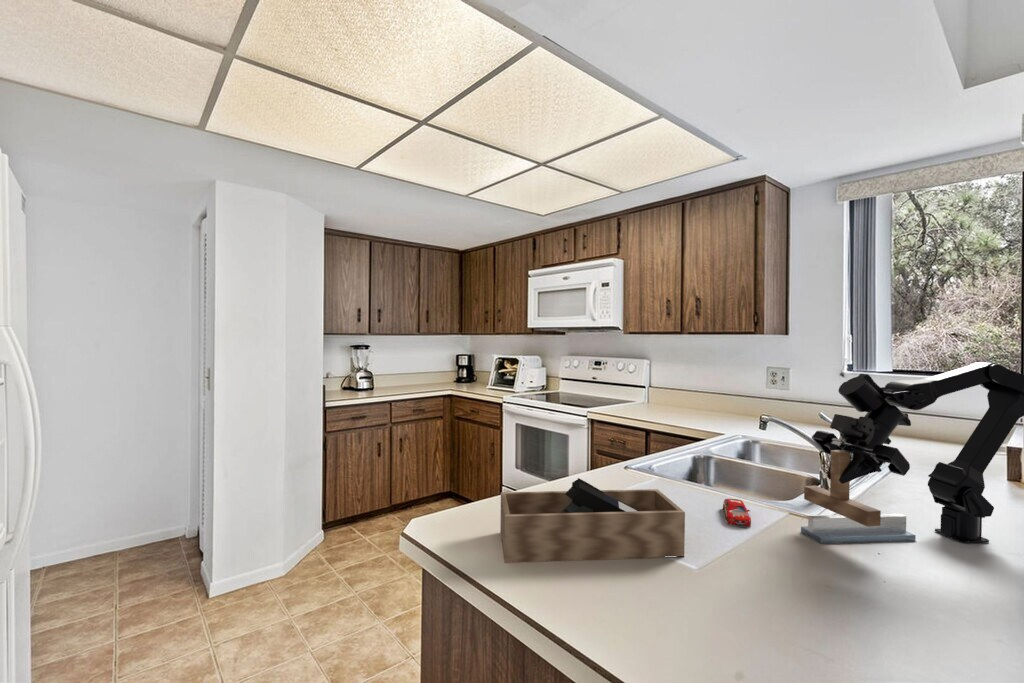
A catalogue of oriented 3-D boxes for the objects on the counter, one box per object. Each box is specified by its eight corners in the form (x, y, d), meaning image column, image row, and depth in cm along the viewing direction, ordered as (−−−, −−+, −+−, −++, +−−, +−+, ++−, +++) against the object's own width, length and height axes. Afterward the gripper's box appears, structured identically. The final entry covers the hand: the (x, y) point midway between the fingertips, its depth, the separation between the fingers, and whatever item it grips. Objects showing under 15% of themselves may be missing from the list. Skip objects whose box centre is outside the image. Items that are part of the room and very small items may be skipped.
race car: (752, 531, 108) (752, 514, 108) (726, 528, 110) (726, 510, 110) (745, 511, 121) (745, 495, 121) (722, 508, 122) (722, 492, 122)
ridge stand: (891, 529, 109) (891, 509, 109) (915, 540, 103) (915, 520, 103) (800, 531, 107) (801, 512, 107) (820, 543, 101) (820, 522, 101)
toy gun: (632, 585, 102) (661, 521, 104) (544, 545, 96) (577, 477, 98) (623, 578, 106) (652, 516, 108) (538, 538, 99) (570, 473, 101)
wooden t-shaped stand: (804, 499, 110) (804, 443, 110) (815, 498, 110) (816, 442, 110) (867, 526, 94) (868, 461, 94) (880, 525, 95) (881, 460, 95)
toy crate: (657, 528, 109) (657, 489, 108) (684, 556, 95) (684, 512, 95) (500, 532, 106) (500, 492, 105) (504, 562, 92) (505, 516, 92)
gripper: (818, 396, 112) (778, 445, 110) (899, 408, 94) (854, 467, 91) (845, 428, 114) (806, 476, 112) (929, 445, 96) (885, 504, 93)
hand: (834, 480), depth 102 cm, fingers closed on wooden t-shaped stand, 2 cm apart
